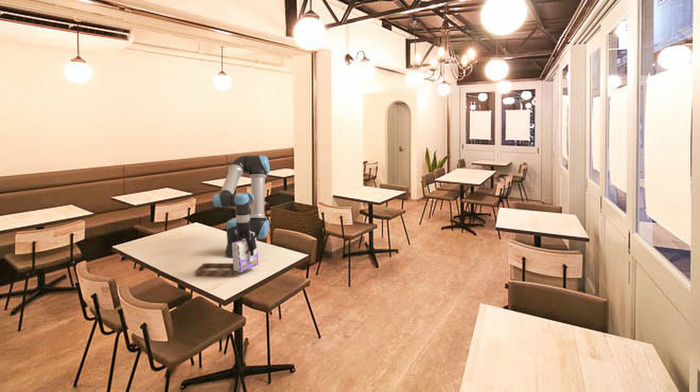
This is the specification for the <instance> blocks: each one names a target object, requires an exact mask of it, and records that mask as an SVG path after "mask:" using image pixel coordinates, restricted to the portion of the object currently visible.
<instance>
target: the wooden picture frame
mask: <svg viewBox="0 0 700 392" xmlns="http://www.w3.org/2000/svg"><path fill="white" fill-rule="evenodd" d="M194 272H195V277H201V278H202V277H206V278H207V277H214V278H215V277H216V278H217V277H218V278H219V277H220V278H222V277H224V278H225V277H226V278H228V277H232V276H233V275H234V274H235V273H236V271H234V269H233V262H231V263H228V262H226V263H224V262H223V263H222V262H221V263H220V262H218V263H217V262H210V263H209V262H205V263H202V264H201V265H200V266H199V267H198V268H196V269H195V271H194Z"/></svg>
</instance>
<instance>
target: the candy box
mask: <svg viewBox="0 0 700 392" xmlns="http://www.w3.org/2000/svg"><path fill="white" fill-rule="evenodd" d="M250 239H251V237H250ZM257 240H258V238H255V241H256V249H255V250H254V255H253V261H251V262H249V252H248V251H249V247H248V244H247V241H246V240H245V239H242V240H240V241H237V242H234V243H232V255H233V258H232V263H233V269H234V271H235V272H237V273H242V272H245V271H247V270H249V269H251V268H254V267H256V266H258V265H259V256H258V255H259V254H258V242H257Z"/></svg>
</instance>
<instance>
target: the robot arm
mask: <svg viewBox="0 0 700 392" xmlns="http://www.w3.org/2000/svg"><path fill="white" fill-rule="evenodd" d="M270 169H271V168H270V162H269V158H268V157H267V156H266V155H241V156H239V157H237V158H235V159H234V160H232V162H231V163H230V164H229V166H228V169H227V175H226V177H225V180H224V182H223V185H222V188H221V189H220V192H219V193H215V194H214V195H213V197H212V203H213V206H214V207H215V208H234V209H235V218H232V219H229V220H228V221H227V222H226V224H225V226H226V228H225V229H226V247H225V252H224V253H225V257H228V258H231V259H233V255H232V243H234V242H237V241H240V240H242V239H245V240H246V241H247V244H248V247H249V251H248V252H249V262H251V261H253V255H254V250H255V249H256V241H255V238H257V240H258V239H259V240H260V239H265V238H267V237H268V234H269V230H270V220H268V218H267V215H265V195H266V194H265V190H266V188H265V186H266V185H265V183H266V182H265V181H266V178H267V177H268V174H269V173H270V171H271V170H270ZM243 174H248V176H249V178H250V179H251V180H250V181H251V183H250V184H251V185H250V188H251V189H250V192H244V193H243V192H242V193H241V192H240V193H235V191H236V189H237V186H238V183H239V180H240V178H241V176H243ZM250 237H251V239H250Z"/></svg>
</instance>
